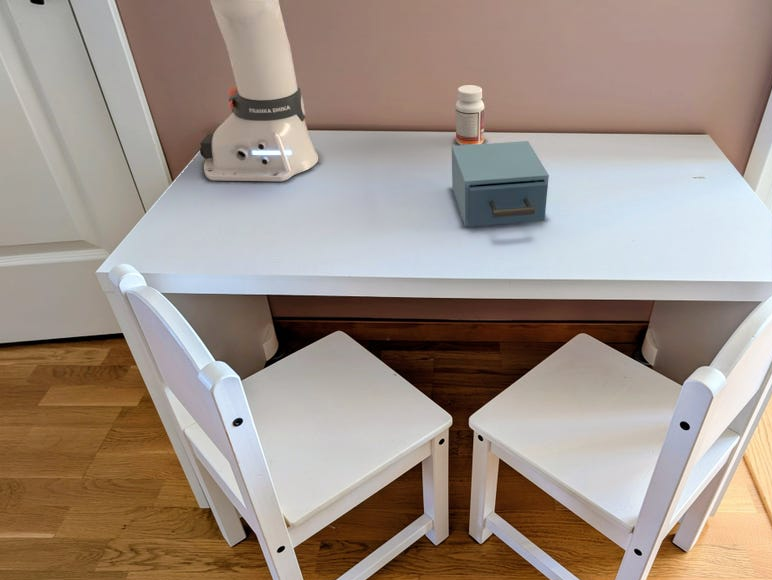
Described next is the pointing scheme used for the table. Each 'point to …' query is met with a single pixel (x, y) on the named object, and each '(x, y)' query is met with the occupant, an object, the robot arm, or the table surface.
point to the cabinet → (492, 168)
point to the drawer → (507, 202)
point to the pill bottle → (469, 115)
